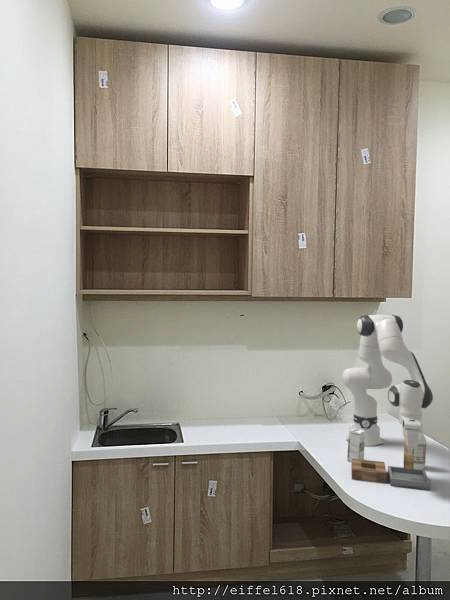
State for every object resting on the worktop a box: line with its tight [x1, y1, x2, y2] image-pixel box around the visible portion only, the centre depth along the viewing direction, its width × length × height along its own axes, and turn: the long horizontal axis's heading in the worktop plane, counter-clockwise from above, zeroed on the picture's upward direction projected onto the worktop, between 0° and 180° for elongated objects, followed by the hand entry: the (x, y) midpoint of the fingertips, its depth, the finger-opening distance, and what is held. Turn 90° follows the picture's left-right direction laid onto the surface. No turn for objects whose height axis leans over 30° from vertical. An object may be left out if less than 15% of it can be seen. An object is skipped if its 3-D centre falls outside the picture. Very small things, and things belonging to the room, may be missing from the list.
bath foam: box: [414, 424, 427, 470], centre depth 227 cm, size 7×7×20 cm
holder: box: [350, 459, 388, 484], centre depth 216 cm, size 14×14×4 cm
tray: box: [387, 465, 431, 491], centre depth 210 cm, size 15×15×3 cm
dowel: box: [403, 435, 414, 470], centre depth 210 cm, size 4×4×14 cm
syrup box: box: [346, 428, 365, 463], centre depth 232 cm, size 6×6×14 cm
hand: (409, 452), depth 210 cm, fingers closed on dowel, 4 cm apart
